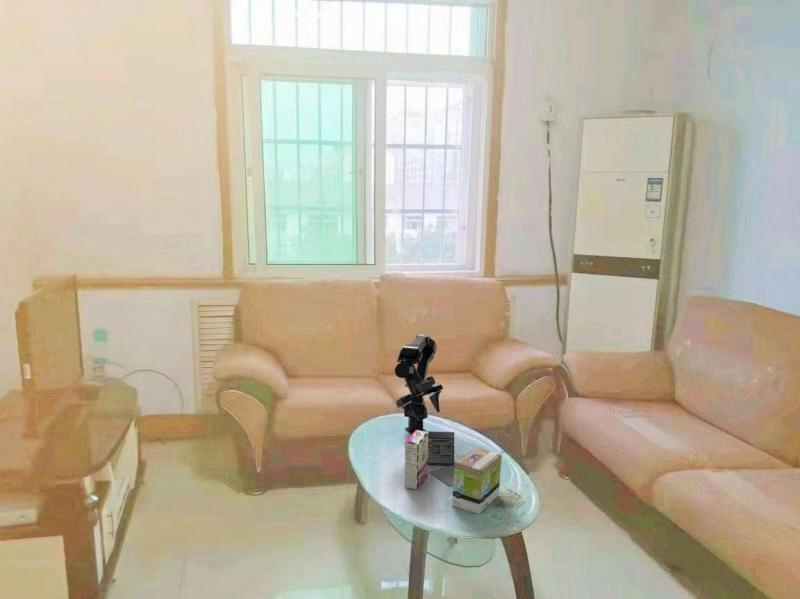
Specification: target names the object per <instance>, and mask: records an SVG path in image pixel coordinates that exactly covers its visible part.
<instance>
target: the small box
mask: <svg viewBox="0 0 800 599" xmlns="http://www.w3.org/2000/svg"><path fill="white" fill-rule="evenodd" d="M426 432H429V433H428V465H436V466H438V465H439V466H452V465H455V431H434V430H433V431H432V430H431V431H430V430H429V431H428V430H426Z"/></svg>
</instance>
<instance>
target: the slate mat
mask: <svg viewBox="0 0 800 599" xmlns="http://www.w3.org/2000/svg"><path fill="white" fill-rule="evenodd" d="M454 467H455V464H454V465H447V466H444V467H440V468H437V469H433V470H429V471H428V473H430V474H431V475H433V476H434V477H436V479H437V480H439V481H440V482H442V483H443V484H445V485H446V486H447V487H453V481H454Z"/></svg>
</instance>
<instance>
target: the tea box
mask: <svg viewBox="0 0 800 599" xmlns="http://www.w3.org/2000/svg"><path fill="white" fill-rule="evenodd" d="M502 457H503V456H502V454H500V453H498V452H494V451H489V450H486V449H482V448H480V447H476V446H475V447H473V448H472V449H471V450H470V451H468V452H467V453H466V454H464V455H463V456H462V457H460V458H459V459H458V460H456V461H454V465H455V467H454V481H453V485H452V500H451V506H453V507H455V508H458V509H461V510H463V511H467V512H470V511H471V512H470V513H473V512H474V513H473V514H476V513H477V515H480V514H481V513H482V512H483V511H484V510H485V509H486V508H488V507H489V505H490V504H492V503H493V501H494V500H496V499H497V498H498V497H499V495H500V483H501V471H502V470H501V469H502V468H501V467H502ZM497 496H498V497H497ZM495 498H496V499H495Z"/></svg>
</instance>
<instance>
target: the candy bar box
mask: <svg viewBox="0 0 800 599" xmlns="http://www.w3.org/2000/svg"><path fill="white" fill-rule="evenodd" d="M426 431H427V430H426ZM426 431H420V430H415V432H414V433H413V434H412V433H411V435H410V436H409V437H408V438H407V439H406V441H405V442H404V445H405V446H404V488H406V489H410V490H417V491H418V490H419V489H420V487H421V486H422V485H423V483H424V481H425V480H426V479H427V478H428V476H429V475H428V473H429V471H428V470H429V464H428V433H429V432H426Z"/></svg>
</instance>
